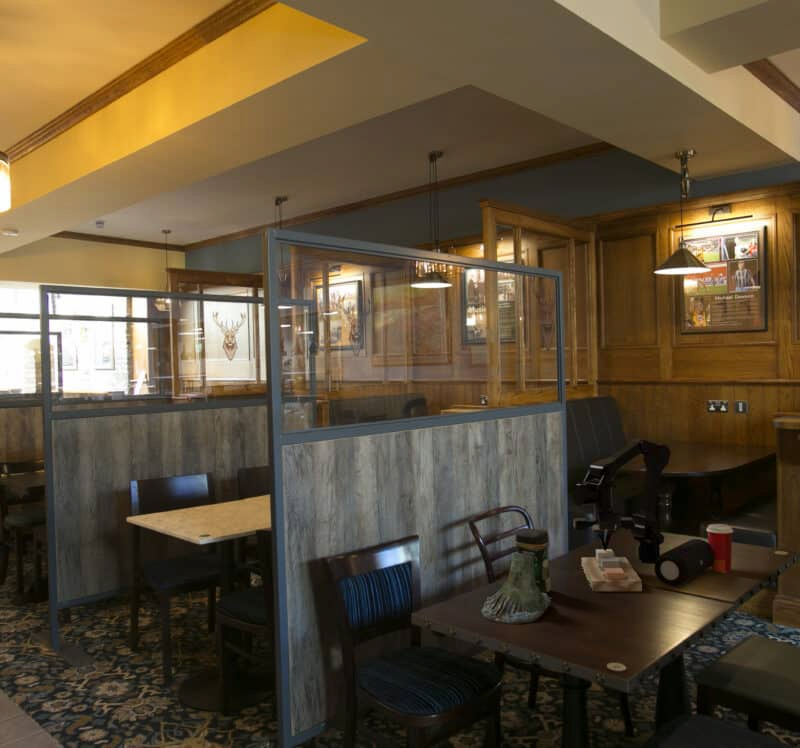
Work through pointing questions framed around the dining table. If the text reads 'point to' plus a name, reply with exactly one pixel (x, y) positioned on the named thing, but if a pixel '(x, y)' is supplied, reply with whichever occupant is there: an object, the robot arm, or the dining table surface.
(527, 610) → the tree stump
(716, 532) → the paper cup
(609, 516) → the robot arm
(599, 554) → the beige cube
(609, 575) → the brown cube
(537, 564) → the coffee jar
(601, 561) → the grey cube
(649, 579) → the dining table surface
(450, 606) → the dining table surface
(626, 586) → the beige flat board
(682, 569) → the portable speaker
